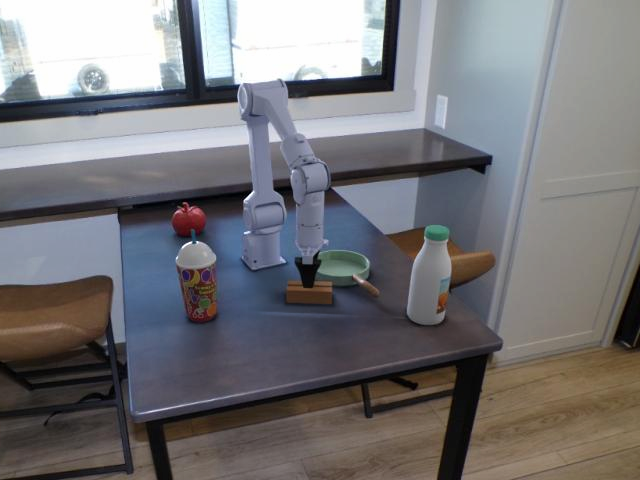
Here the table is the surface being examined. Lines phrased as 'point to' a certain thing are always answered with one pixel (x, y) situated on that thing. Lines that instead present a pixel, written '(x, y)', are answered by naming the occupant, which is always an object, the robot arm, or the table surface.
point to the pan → (342, 267)
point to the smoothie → (198, 279)
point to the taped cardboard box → (309, 293)
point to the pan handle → (366, 285)
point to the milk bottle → (430, 278)
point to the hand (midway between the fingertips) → (309, 279)
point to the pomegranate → (188, 220)
